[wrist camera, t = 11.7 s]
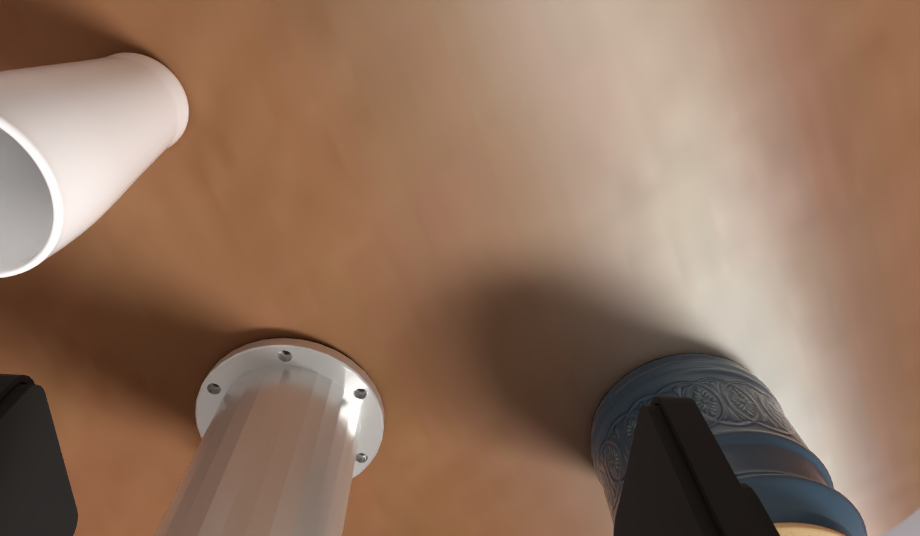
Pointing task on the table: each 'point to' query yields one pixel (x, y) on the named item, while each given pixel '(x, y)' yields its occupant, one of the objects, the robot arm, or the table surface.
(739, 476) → the canister
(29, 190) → the drinking glass
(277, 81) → the table surface
